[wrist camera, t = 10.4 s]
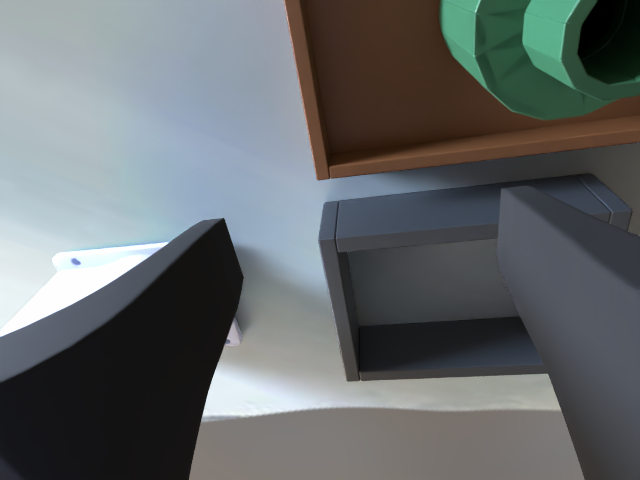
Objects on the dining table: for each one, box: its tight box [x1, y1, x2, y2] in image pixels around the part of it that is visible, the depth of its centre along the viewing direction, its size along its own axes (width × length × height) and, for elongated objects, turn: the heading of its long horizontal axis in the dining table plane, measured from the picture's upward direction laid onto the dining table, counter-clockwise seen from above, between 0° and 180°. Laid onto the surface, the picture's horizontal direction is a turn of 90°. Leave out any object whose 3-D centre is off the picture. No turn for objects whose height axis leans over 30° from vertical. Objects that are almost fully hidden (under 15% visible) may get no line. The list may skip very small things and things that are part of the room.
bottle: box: [439, 0, 640, 120], centre depth 12 cm, size 5×5×8 cm
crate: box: [318, 174, 632, 381], centre depth 21 cm, size 13×10×4 cm
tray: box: [284, 0, 640, 180], centre depth 15 cm, size 16×11×2 cm
